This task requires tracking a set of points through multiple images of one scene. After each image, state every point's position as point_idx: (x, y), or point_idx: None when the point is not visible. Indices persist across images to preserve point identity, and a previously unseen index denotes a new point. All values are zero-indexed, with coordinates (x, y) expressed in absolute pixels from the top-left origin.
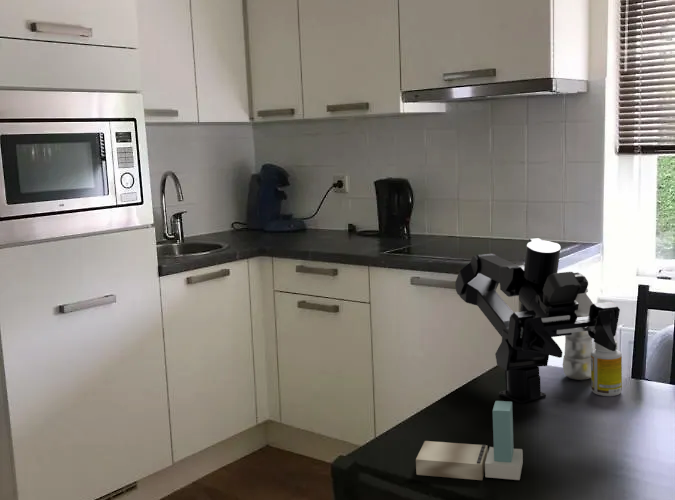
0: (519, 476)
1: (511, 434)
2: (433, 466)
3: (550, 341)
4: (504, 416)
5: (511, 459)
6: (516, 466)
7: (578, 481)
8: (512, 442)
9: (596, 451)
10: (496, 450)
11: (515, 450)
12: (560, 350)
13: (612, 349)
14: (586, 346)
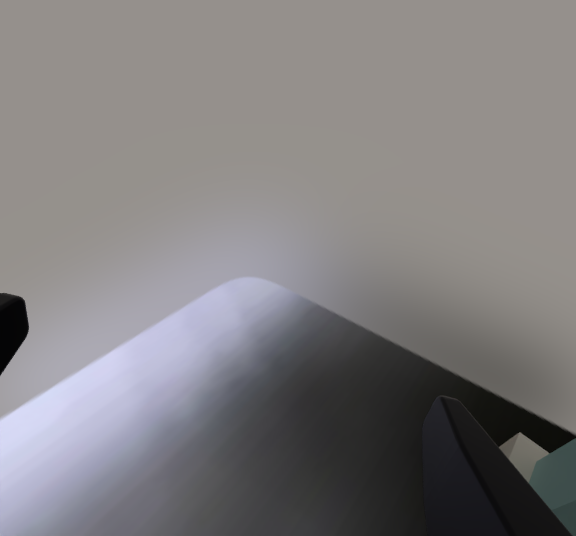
0: (504, 443)
1: (573, 462)
2: None
3: (541, 506)
4: None
5: (534, 469)
6: (525, 436)
7: (367, 382)
8: (544, 493)
9: (214, 494)
10: None
11: None
12: (453, 405)
13: (20, 335)
14: None
